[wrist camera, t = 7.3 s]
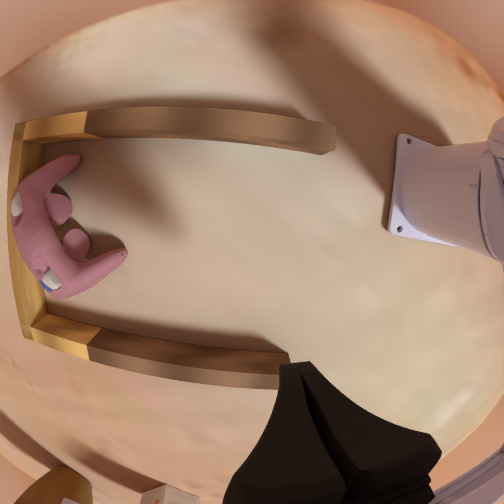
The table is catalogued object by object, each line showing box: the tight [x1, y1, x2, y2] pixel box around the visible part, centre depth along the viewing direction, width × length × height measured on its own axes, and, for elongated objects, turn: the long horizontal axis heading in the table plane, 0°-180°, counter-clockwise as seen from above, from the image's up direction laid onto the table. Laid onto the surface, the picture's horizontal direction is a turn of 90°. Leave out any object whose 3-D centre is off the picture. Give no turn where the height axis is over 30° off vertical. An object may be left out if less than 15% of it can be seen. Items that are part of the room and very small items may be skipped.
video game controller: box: [10, 153, 128, 299], centre depth 16 cm, size 10×5×7 cm, turn 28°
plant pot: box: [14, 465, 93, 504], centre depth 20 cm, size 15×15×16 cm
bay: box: [7, 106, 337, 390], centre depth 17 cm, size 24×18×3 cm
